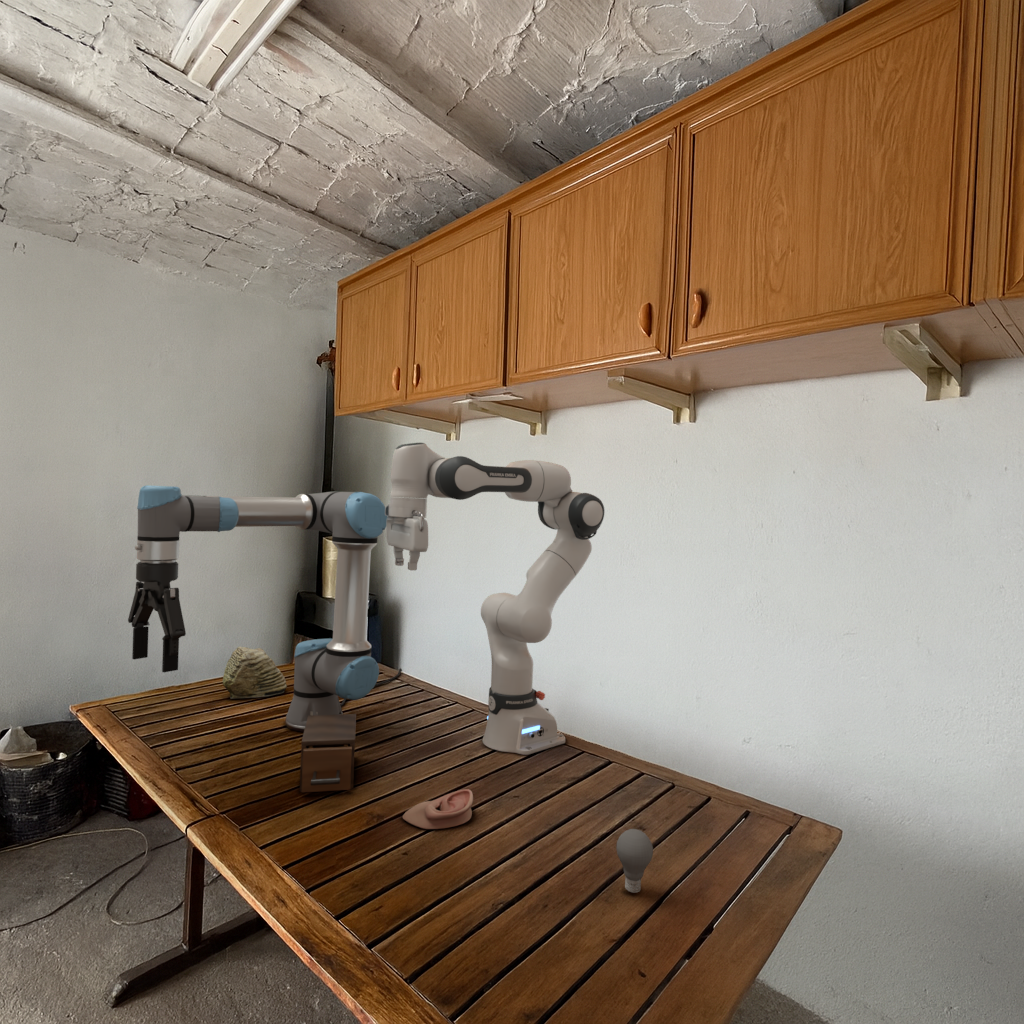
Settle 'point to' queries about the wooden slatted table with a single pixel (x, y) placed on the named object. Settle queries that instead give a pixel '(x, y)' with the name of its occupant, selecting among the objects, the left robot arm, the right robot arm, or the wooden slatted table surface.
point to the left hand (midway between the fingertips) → (154, 664)
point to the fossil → (252, 674)
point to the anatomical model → (442, 811)
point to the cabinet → (329, 734)
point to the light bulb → (634, 857)
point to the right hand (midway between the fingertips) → (405, 567)
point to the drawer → (326, 768)
